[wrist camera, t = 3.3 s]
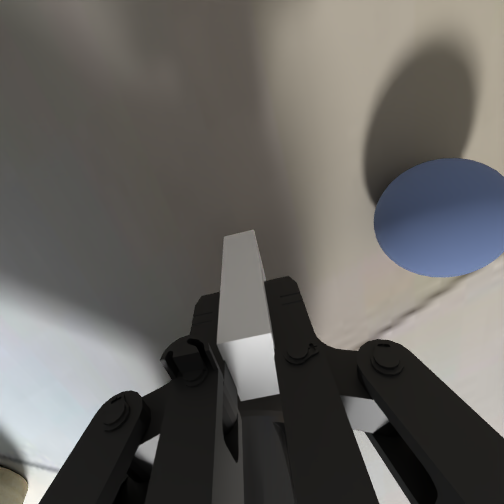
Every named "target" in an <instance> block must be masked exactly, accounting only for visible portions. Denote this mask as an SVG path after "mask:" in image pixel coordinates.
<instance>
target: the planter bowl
mask: <svg viewBox="0 0 504 504" xmlns="http://www.w3.org/2000/svg"><path fill="white" fill-rule="evenodd" d="M27 491H28V484H27V482H26V480H25V479H24V478H23V477H22V476H20V475H19V474H17V473H15V472H13V471H11V470H9V469H6V468H3V467H0V504H23V502H24V499H25V496H26V493H27Z"/></svg>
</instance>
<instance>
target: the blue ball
mask: <svg viewBox="0 0 504 504" xmlns="http://www.w3.org/2000/svg"><path fill="white" fill-rule="evenodd" d="M374 230H375V234H376V238H377V240H378V243H379V245H380V247H381V248H382V250H383V251H384V252H385V254H386V255H387V256H388V257H389V258H390V259H391V260H392V261H394V262H395V263H396V264H398V265H399V266H401V267H403V268H404V269H406V270H408V271H411V272H414V273H417V274H419V275H424V276H430V277H453V276H459V275H464V274H468V273H470V272H473V271H476V270H478V269H480V268H483V267H484V266H486V265H488V264H489V263H491V262H492V261H494V260H495V259H496V258H498V257H499V256H500V255H501V254H502V253H503V252H504V177H503V176H502V175H501V174H500V173H499V172H497V171H496V170H494V169H492V168H491V167H489V166H487V165H485V164H482V163H479V162H476V161H473V160H468V159H460V158H443V159H436V160H432V161H428V162H424V163H421V164H419V165H417V166H414V167H412V168H410V169H408V170H407V171H405V172H403V173H402V174H401V175H399V176H398V177H397V178H396V179H394V180H393V181H392V182H391V183H390V184H389V186H388V187H387V188H386V189H385V191H384V192H383V194H382V195H381V197H380V199H379V201H378V203H377V206H376V209H375V214H374Z"/></svg>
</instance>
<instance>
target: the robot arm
mask: <svg viewBox="0 0 504 504" xmlns="http://www.w3.org/2000/svg"><path fill="white" fill-rule="evenodd" d="M193 316H194V318H193V320H192V327H191V331H190V335H188V336H185V337H182V338H179V339H178V340H176V341H175V342H173V343H172V344H171V345H170V346H169V347H168V348H167V349H166V350H165V351H164V353H163V355H162V357H161V359H160V361H161V363H162V364H163V366H164V368H165V369H166V371H167V372H168V374H169V376H170V377H171V379H172V380H171V381H170V382H169V383H167V384H166V385H164V386H163V387H161V388H159V389H157V390H155V391H153V392H151V393H149V394H147V395H145V396H143V397H141V396H140V395H139V393H138V392H134V391H125V392H121V393H119V394H117V395H115V396H113V397H112V398H110V399H109V400H108V401H107V402H106V403H104V404H103V405H102V407H101V408H100V409H99V410H98V412H97V413H96V414H95V416H94V417H93V419H92V420H91V422H90V424H89V425H88V427H87V428H86V430H85V431H84V433H83V435H82V436H81V438H80V439H79V441H78V442H77V444H76V446H75V447H74V449H73V450H72V452H71V454H70V455H69V457H68V458H67V460H66V461H65V463H64V465H63V466H62V468H61V469H60V471H59V472H58V474H57V476H56V477H55V479H54V480H53V482H52V483H51V485H50V487H49V488H48V490H47V491H46V493H45V494H44V496H43V498H42V499H41V501H40V502H39V504H379V502H378V499H377V496H376V493H375V491H374V488H373V485H372V482H371V480H370V477H369V474H368V471H367V469H366V466H365V463H364V460H363V458H362V455H361V452H360V449H359V447H358V444H357V441H356V438H355V436H354V433H353V430H358V431H364V432H365V434H366V435H367V437H368V438H369V440H370V441H371V443H372V444H373V446H374V447H375V449H376V451H377V452H378V454H379V455H380V457H381V458H382V460H383V461H384V463H385V464H386V466H387V468H388V469H389V471H390V472H391V474H392V475H393V477H394V478H395V480H396V481H397V483H398V485H399V486H400V488H401V489H402V491H403V492H404V494H405V495H406V497H407V498H408V500H409V502H410V503H411V504H504V438H503V437H502V436H501V435H500V434H499V433H497V432H496V431H495V430H494V429H493V428H492V427H491V426H490V425H489V424H488V423H487V422H486V421H485V420H483V419H482V418H481V417H480V416H479V415H478V414H477V413H476V412H475V411H474V410H473V409H472V408H471V407H470V406H468V405H467V404H466V403H465V402H464V401H463V400H462V399H461V398H460V397H459V396H458V395H457V394H456V393H454V392H453V391H452V390H451V389H450V388H449V387H448V386H447V385H446V384H445V383H444V382H443V381H442V380H440V379H439V378H438V377H437V376H436V375H435V374H434V373H433V372H432V371H431V370H430V369H429V368H428V367H427V366H425V365H424V364H423V363H422V362H421V361H420V360H419V359H418V358H417V357H416V356H415V355H414V354H413V353H411V352H410V351H409V350H408V349H406V348H405V347H403V346H402V345H401V344H398V343H395V342H393V341H390V340H381V339H377V340H372V341H368V342H367V343H365V344H364V345H362V346H361V347H360V349H359V351H351V350H341V349H336V348H332V347H330V346H327V345H326V344H324V343H323V342H321V341H320V340H319V339H318V338H317V336H316V334H315V333H314V330H313V327H312V325H311V322H310V319H309V316H308V313H307V311H306V308H305V305H304V302H303V299H302V296H301V294H300V291H299V288H298V285H297V283H296V282H295V281H294V280H293V279H292V278H290V277H289V276H286V277H282V278H277V279H273V280H268V281H266V278H265V273H264V269H263V265H262V260H261V256H260V252H259V248H258V244H257V240H256V236H255V232H254V230H250V231H245V232H241V233H237V234H232V235H228V236H224V243H223V258H222V272H221V287H220V292H217V293H213V294H208V295H204V296H201V298H200V299H199V301H198V302H197V304H196V305H195V310H194V315H193ZM352 429H353V430H352Z"/></svg>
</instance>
